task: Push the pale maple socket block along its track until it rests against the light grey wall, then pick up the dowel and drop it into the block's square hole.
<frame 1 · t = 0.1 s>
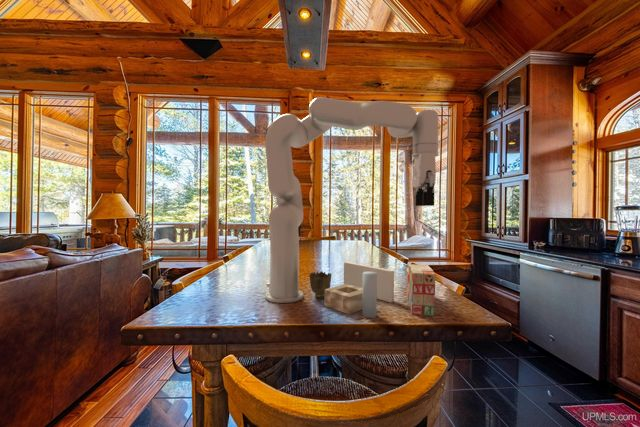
hand: (424, 205, 91), 31 cm above the table, tool pointing down, fingers open, 9 cm apart
socket block: (347, 297, 88), point 3 cm above the table, slide at 0.0 cm
dowel: (369, 315, 81), on the table
cup: (320, 297, 97), on the table
backstop wall: (367, 294, 100), on the table
stack of blocks: (418, 304, 92), on the table
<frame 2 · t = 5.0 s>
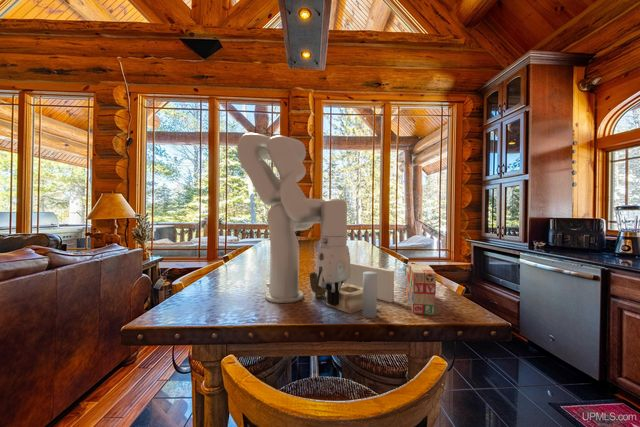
hand: (333, 304, 84), 2 cm above the table, tool pointing down, fingers closed
socket block: (349, 297, 89), point 3 cm above the table, slide at 0.8 cm, touching gripper
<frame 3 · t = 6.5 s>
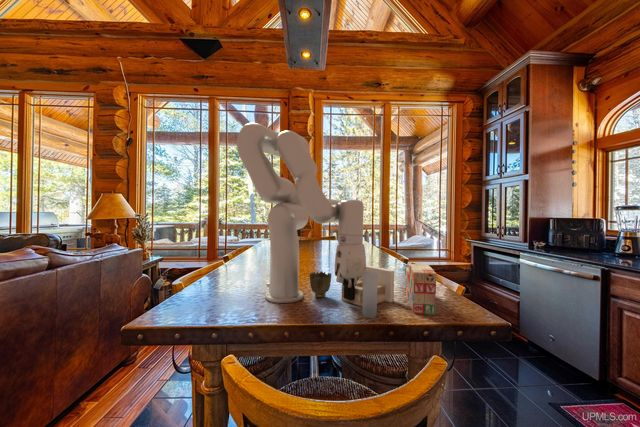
hand: (349, 298, 89), 2 cm above the table, tool pointing down, fingers closed
socket block: (363, 292, 94), point 3 cm above the table, slide at 8.0 cm, touching backstop wall, gripper
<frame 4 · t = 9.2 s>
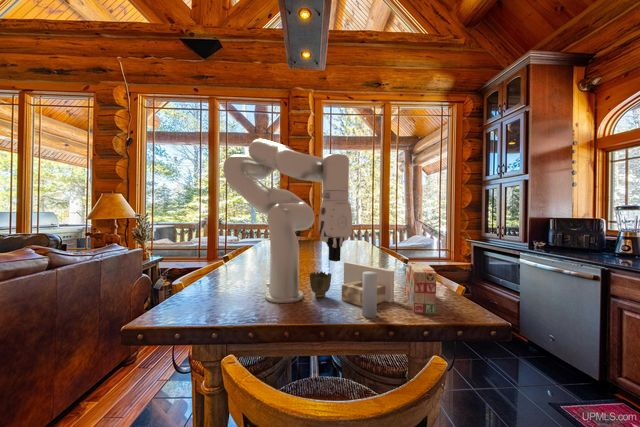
hand: (334, 260, 84), 15 cm above the table, tool pointing down, fingers closed
socket block: (363, 292, 94), point 3 cm above the table, slide at 8.0 cm, touching backstop wall
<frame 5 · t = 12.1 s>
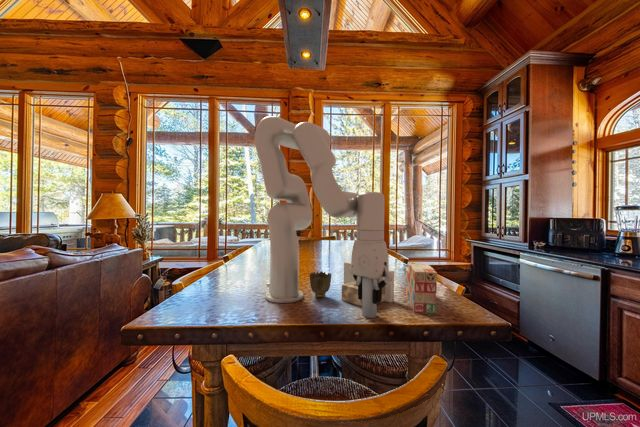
hand: (369, 300, 81), 4 cm above the table, tool pointing down, fingers open, 4 cm apart
dowel: (369, 315, 81), on the table, touching gripper
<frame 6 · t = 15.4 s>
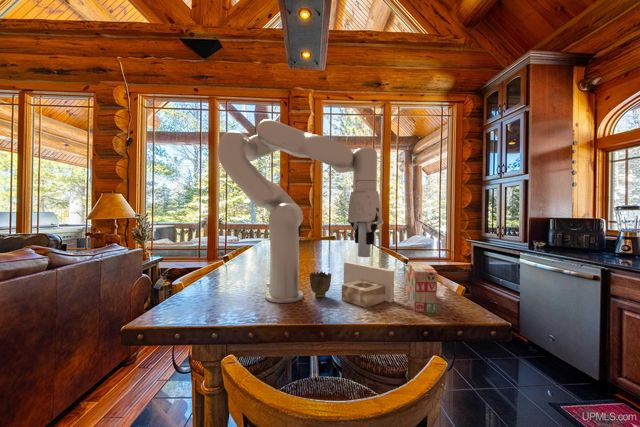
hand: (364, 243, 94), 19 cm above the table, tool pointing down, fingers closed on dowel, 4 cm apart
dowel: (364, 256, 94), point 15 cm above the table, touching gripper
when the fingers open (7 cm above the table, at t = 18.4 s): dowel drops 1 cm, resting on socket block.
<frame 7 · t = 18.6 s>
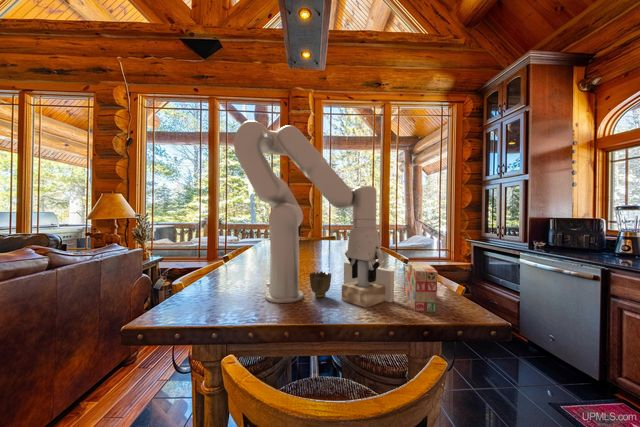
hand: (363, 279, 94), 7 cm above the table, tool pointing down, fingers open, 6 cm apart
socket block: (363, 292, 94), point 3 cm above the table, slide at 8.0 cm, touching backstop wall, dowel
dowel: (363, 297, 94), point 1 cm above the table, touching socket block
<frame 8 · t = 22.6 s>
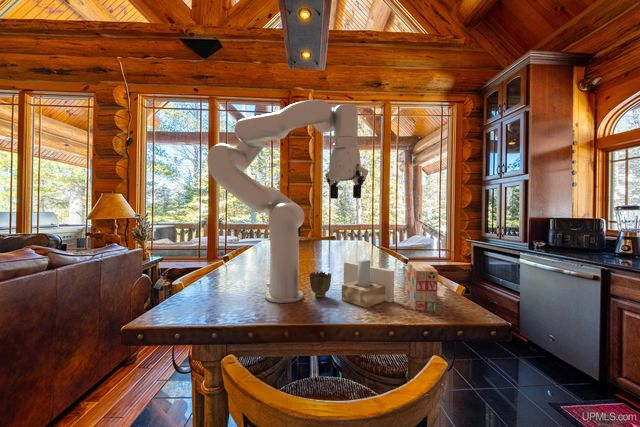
hand: (345, 198, 93), 33 cm above the table, tool pointing down, fingers open, 9 cm apart
socket block: (363, 292, 94), point 3 cm above the table, slide at 8.0 cm, touching dowel
at the end: socket block slide at 8.0 cm; dowel 0.1 cm from the target spot, point 1.1 cm above the table; dowel tilted 0° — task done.
